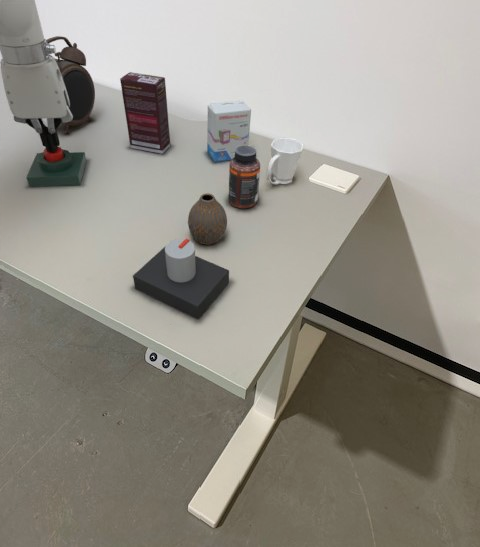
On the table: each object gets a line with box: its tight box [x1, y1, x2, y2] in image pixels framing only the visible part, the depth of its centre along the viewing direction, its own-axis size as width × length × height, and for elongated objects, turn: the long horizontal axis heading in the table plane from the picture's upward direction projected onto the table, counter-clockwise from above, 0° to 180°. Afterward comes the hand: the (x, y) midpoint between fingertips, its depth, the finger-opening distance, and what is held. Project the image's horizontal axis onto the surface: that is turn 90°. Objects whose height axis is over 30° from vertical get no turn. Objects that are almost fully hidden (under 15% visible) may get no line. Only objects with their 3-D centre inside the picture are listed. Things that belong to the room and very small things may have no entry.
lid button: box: [43, 146, 64, 161], centre depth 87 cm, size 4×4×2 cm
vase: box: [187, 192, 228, 245], centre depth 73 cm, size 7×7×9 cm
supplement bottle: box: [228, 145, 261, 209], centre depth 81 cm, size 6×6×11 cm
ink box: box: [206, 100, 252, 163], centre depth 95 cm, size 9×5×12 cm, turn 112°
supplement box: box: [119, 71, 171, 155], centre depth 94 cm, size 9×5×16 cm, turn 73°
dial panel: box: [132, 245, 230, 320], centre depth 66 cm, size 12×9×3 cm
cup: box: [266, 137, 305, 185], centre depth 89 cm, size 7×10×8 cm
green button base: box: [25, 148, 87, 188], centre depth 88 cm, size 10×10×4 cm
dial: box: [164, 238, 196, 283], centre depth 63 cm, size 4×4×5 cm
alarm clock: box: [46, 35, 96, 134], centre depth 99 cm, size 15×7×20 cm, turn 154°
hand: (52, 148), depth 86 cm, fingers closed
